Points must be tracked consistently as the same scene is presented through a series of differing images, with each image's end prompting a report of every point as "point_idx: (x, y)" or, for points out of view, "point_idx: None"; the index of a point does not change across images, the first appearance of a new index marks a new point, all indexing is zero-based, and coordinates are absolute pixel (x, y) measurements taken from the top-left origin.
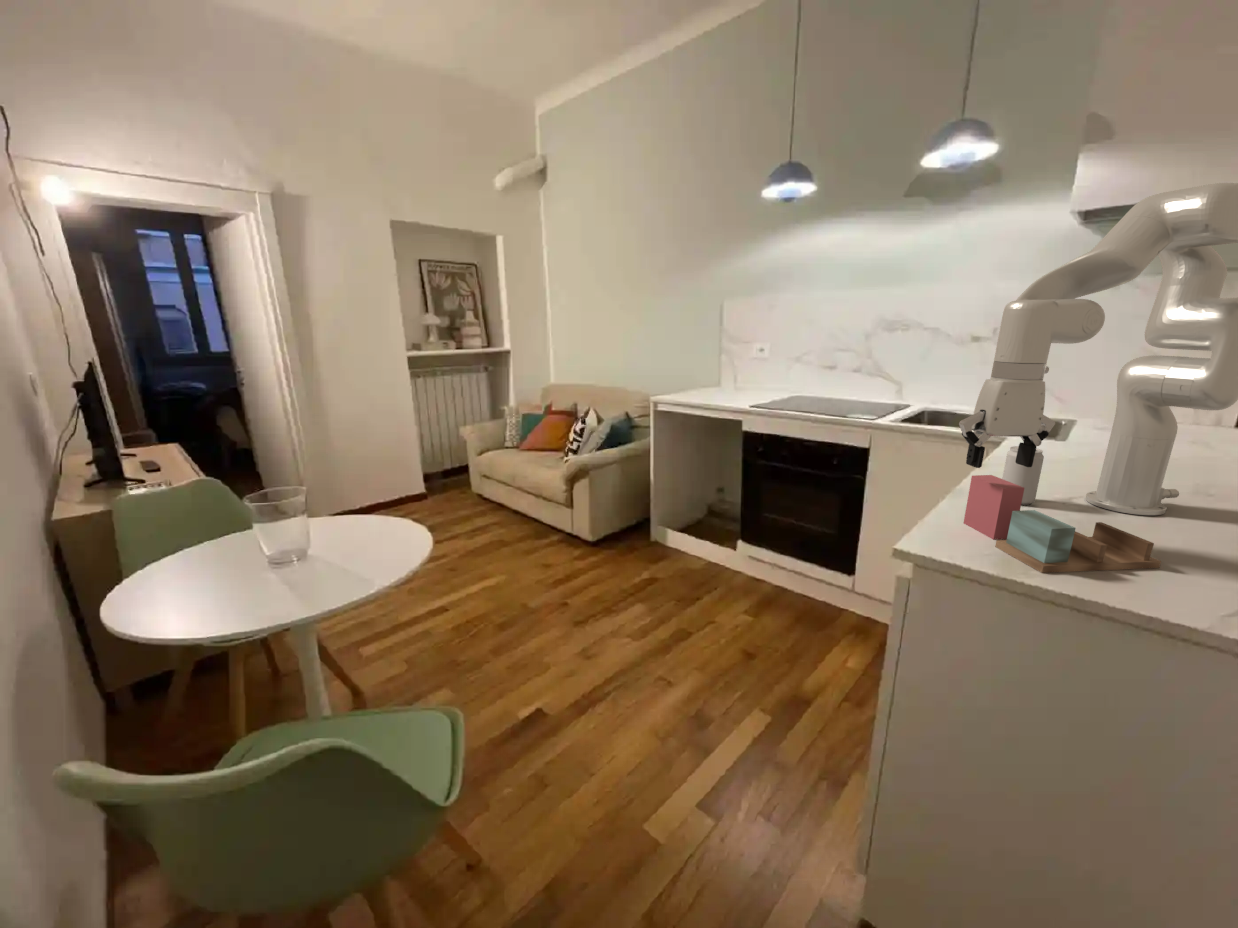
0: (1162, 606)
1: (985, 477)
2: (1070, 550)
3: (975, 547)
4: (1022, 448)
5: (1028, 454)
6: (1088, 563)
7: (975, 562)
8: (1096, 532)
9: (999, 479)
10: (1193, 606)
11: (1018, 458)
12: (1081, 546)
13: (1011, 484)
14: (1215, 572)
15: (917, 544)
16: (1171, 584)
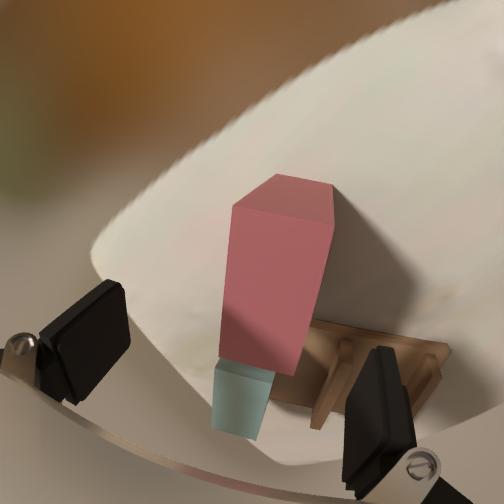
0: (283, 444)
1: (269, 247)
2: (323, 374)
3: (194, 289)
4: (368, 435)
5: (348, 441)
6: (296, 403)
7: (156, 324)
8: (425, 367)
9: (303, 288)
10: (314, 451)
11: (369, 377)
12: (320, 396)
13: (285, 344)
14: (443, 424)
15: (109, 245)
16: None
